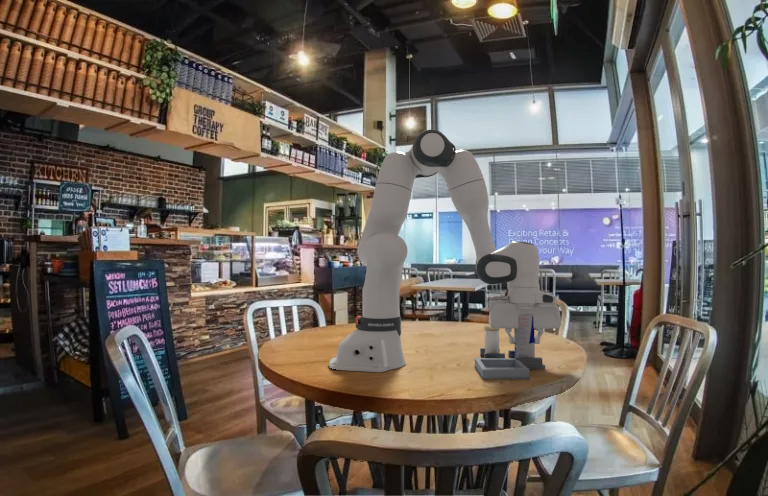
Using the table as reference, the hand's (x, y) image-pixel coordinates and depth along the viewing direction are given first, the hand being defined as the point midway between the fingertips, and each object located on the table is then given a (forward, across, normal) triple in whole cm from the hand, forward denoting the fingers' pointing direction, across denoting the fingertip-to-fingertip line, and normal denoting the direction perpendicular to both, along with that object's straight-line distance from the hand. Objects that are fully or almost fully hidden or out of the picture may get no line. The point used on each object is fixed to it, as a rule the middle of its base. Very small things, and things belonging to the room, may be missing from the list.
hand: (524, 343), depth 126 cm
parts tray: (+6, -9, -9) cm, 14 cm away
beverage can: (+6, 0, 0) cm, 6 cm away
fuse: (+6, -8, +7) cm, 12 cm away
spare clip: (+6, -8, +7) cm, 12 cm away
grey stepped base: (+6, 0, 0) cm, 6 cm away
